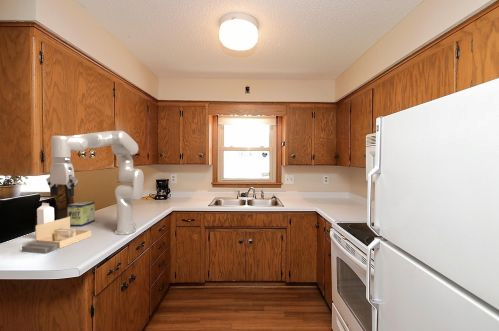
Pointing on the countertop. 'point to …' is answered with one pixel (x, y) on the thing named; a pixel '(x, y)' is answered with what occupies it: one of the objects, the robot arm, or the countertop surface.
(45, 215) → the milk
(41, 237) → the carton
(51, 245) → the block
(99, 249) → the countertop surface
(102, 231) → the countertop surface
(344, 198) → the countertop surface
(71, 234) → the block
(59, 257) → the countertop surface
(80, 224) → the protein box
